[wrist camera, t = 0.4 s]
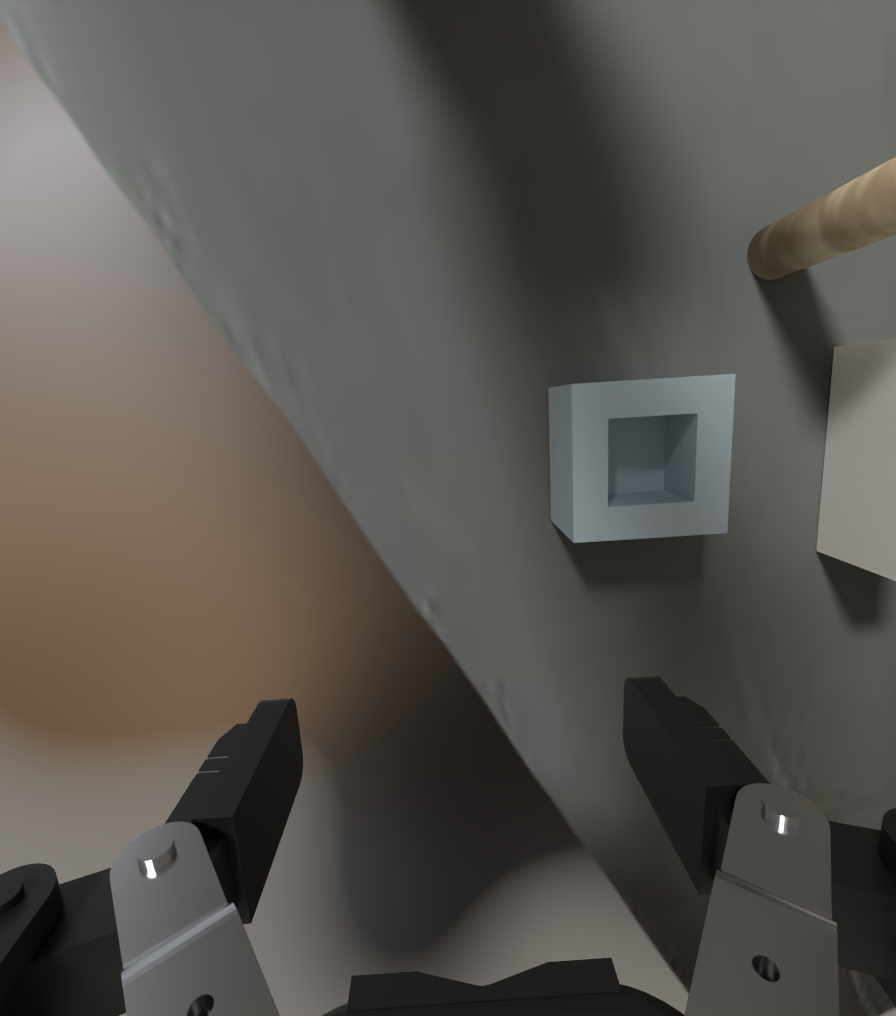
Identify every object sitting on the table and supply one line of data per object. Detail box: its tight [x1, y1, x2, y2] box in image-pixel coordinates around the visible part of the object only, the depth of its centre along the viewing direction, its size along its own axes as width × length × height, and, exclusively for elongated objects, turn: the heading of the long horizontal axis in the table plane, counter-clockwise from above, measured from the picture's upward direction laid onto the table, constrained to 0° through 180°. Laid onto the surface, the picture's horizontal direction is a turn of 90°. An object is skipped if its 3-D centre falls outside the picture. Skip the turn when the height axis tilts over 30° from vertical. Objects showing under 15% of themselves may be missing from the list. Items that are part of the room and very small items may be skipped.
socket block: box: [548, 374, 735, 543], centre depth 31 cm, size 9×9×6 cm
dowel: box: [748, 157, 896, 280], centre depth 26 cm, size 3×3×12 cm
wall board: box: [816, 338, 896, 581], centre depth 31 cm, size 14×2×7 cm, turn 3°
